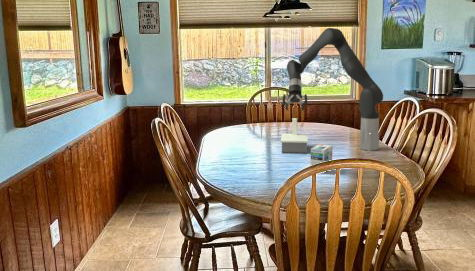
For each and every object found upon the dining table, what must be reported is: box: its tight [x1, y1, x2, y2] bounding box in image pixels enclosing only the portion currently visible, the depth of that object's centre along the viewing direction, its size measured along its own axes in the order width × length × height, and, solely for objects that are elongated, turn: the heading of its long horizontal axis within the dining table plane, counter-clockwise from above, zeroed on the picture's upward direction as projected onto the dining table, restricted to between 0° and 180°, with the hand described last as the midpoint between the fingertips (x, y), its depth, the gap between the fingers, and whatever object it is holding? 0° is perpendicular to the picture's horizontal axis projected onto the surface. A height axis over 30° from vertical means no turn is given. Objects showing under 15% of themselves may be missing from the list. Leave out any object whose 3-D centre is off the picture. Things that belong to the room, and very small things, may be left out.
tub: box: [281, 142, 308, 155], centre depth 235 cm, size 18×13×6 cm
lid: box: [280, 117, 309, 144], centre depth 234 cm, size 19×14×11 cm
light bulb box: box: [309, 143, 333, 174], centre depth 195 cm, size 11×7×11 cm, turn 148°
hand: (294, 109), depth 249 cm, fingers open, 8 cm apart
